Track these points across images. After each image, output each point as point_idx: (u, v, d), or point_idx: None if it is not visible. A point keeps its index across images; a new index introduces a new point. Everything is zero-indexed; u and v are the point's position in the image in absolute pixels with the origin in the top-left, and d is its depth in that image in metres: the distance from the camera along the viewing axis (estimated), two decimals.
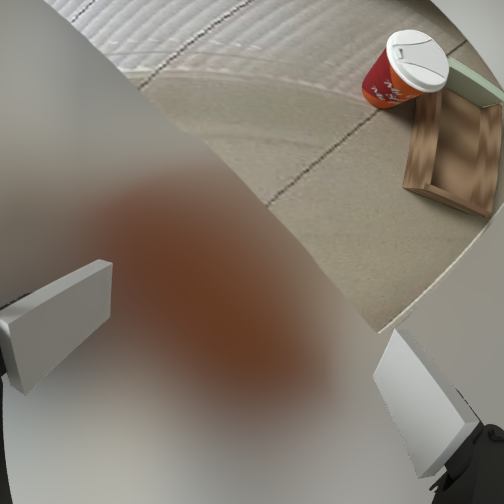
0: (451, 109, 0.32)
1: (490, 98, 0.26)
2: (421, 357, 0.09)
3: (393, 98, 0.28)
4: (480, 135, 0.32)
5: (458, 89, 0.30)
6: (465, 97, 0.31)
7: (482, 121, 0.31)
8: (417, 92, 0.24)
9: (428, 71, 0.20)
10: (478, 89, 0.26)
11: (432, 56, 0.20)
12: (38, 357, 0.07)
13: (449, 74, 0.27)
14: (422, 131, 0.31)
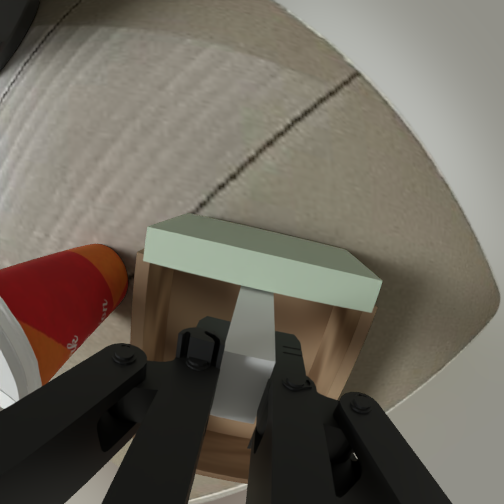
0: None
1: None
2: (260, 303, 0.12)
3: None
4: (322, 342, 0.20)
5: None
6: None
7: (333, 313, 0.19)
8: None
9: None
10: None
11: None
12: None
13: None
14: None
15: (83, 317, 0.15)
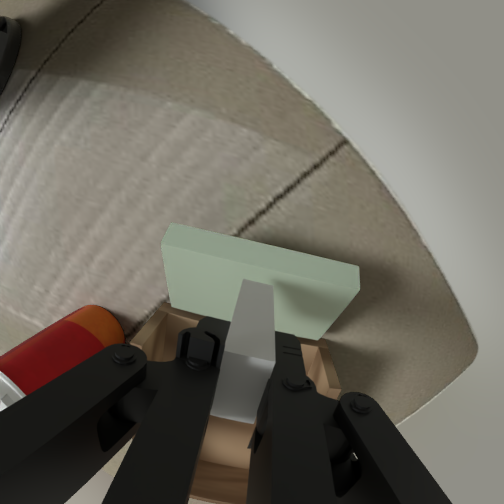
0: None
1: (322, 300, 0.16)
2: (260, 303, 0.12)
3: None
4: None
5: None
6: None
7: None
8: None
9: None
10: (274, 288, 0.16)
11: None
12: None
13: (184, 274, 0.17)
14: None
15: None
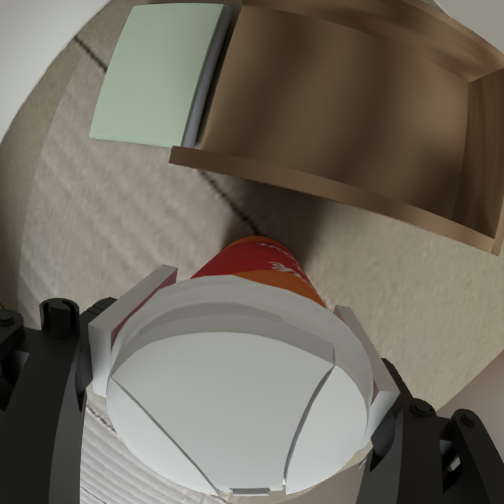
0: (271, 89, 0.15)
1: (146, 20, 0.14)
2: (353, 329, 0.11)
3: None
4: (317, 15, 0.14)
5: (172, 71, 0.15)
6: (200, 41, 0.15)
7: (280, 5, 0.13)
8: None
9: (307, 437, 0.06)
10: (131, 52, 0.15)
11: (213, 409, 0.06)
12: None
13: (119, 120, 0.16)
14: (365, 209, 0.15)
15: (253, 253, 0.12)
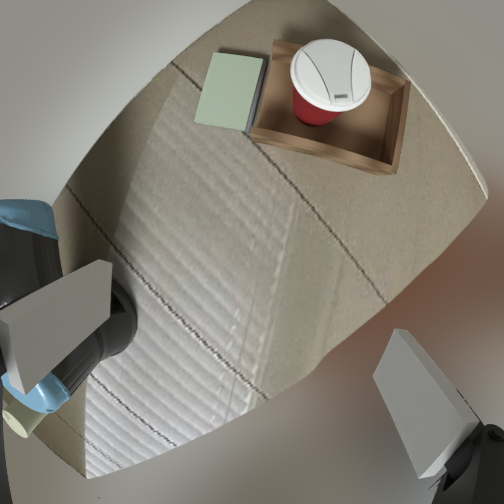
0: (286, 104, 0.35)
1: (223, 62, 0.33)
2: (421, 357, 0.09)
3: None
4: None
5: (240, 93, 0.34)
6: (253, 79, 0.34)
7: None
8: None
9: (354, 69, 0.21)
10: (216, 79, 0.34)
11: (330, 57, 0.21)
12: (38, 357, 0.07)
13: (212, 114, 0.35)
14: (328, 156, 0.34)
15: None
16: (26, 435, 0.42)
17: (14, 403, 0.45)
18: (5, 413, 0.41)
